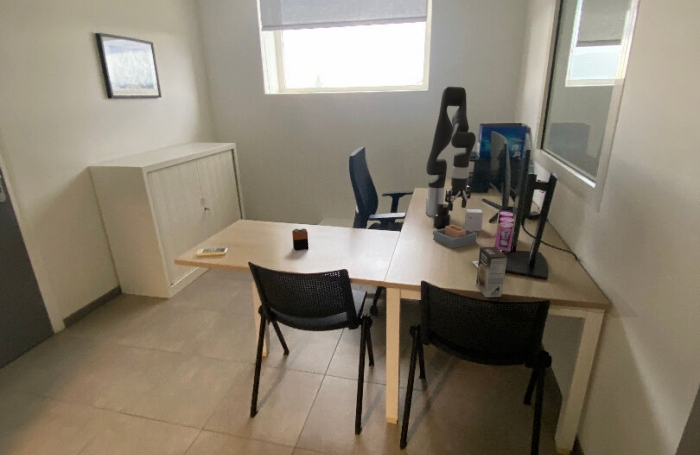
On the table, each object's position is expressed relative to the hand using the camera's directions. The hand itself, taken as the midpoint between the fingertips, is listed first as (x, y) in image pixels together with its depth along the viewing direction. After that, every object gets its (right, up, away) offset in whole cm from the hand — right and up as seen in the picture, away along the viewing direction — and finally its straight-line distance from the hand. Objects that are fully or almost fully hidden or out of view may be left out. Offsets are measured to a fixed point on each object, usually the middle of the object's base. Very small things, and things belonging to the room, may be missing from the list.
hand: (456, 209), depth 182 cm
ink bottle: (-1, -9, +25) cm, 27 cm away
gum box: (+23, -17, +2) cm, 29 cm away
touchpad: (+6, -27, -25) cm, 37 cm away
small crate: (0, -15, +5) cm, 16 cm away
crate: (0, -16, +6) cm, 17 cm away
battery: (-75, -19, -1) cm, 77 cm away
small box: (+14, -10, +21) cm, 27 cm away
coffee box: (0, -33, -41) cm, 53 cm away
